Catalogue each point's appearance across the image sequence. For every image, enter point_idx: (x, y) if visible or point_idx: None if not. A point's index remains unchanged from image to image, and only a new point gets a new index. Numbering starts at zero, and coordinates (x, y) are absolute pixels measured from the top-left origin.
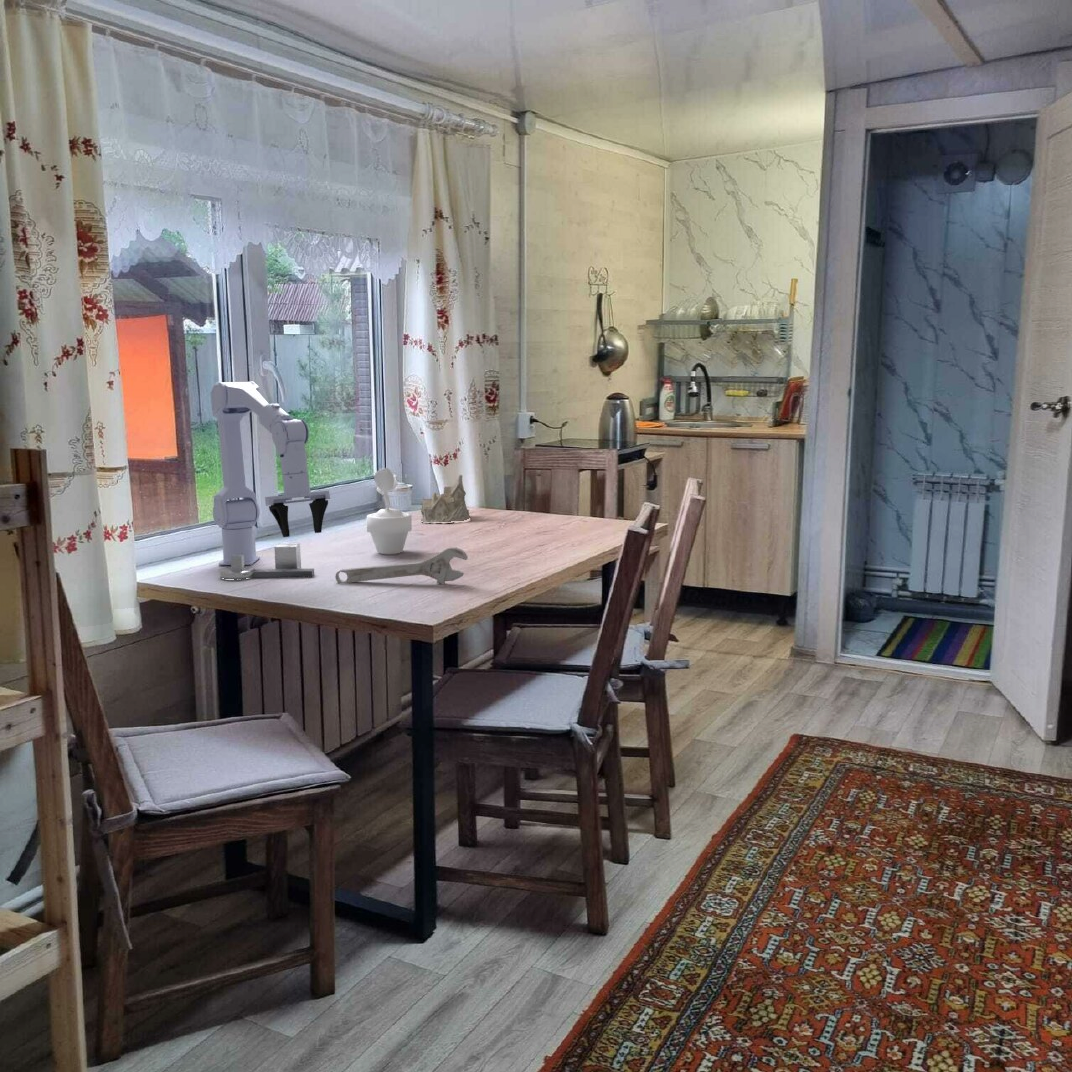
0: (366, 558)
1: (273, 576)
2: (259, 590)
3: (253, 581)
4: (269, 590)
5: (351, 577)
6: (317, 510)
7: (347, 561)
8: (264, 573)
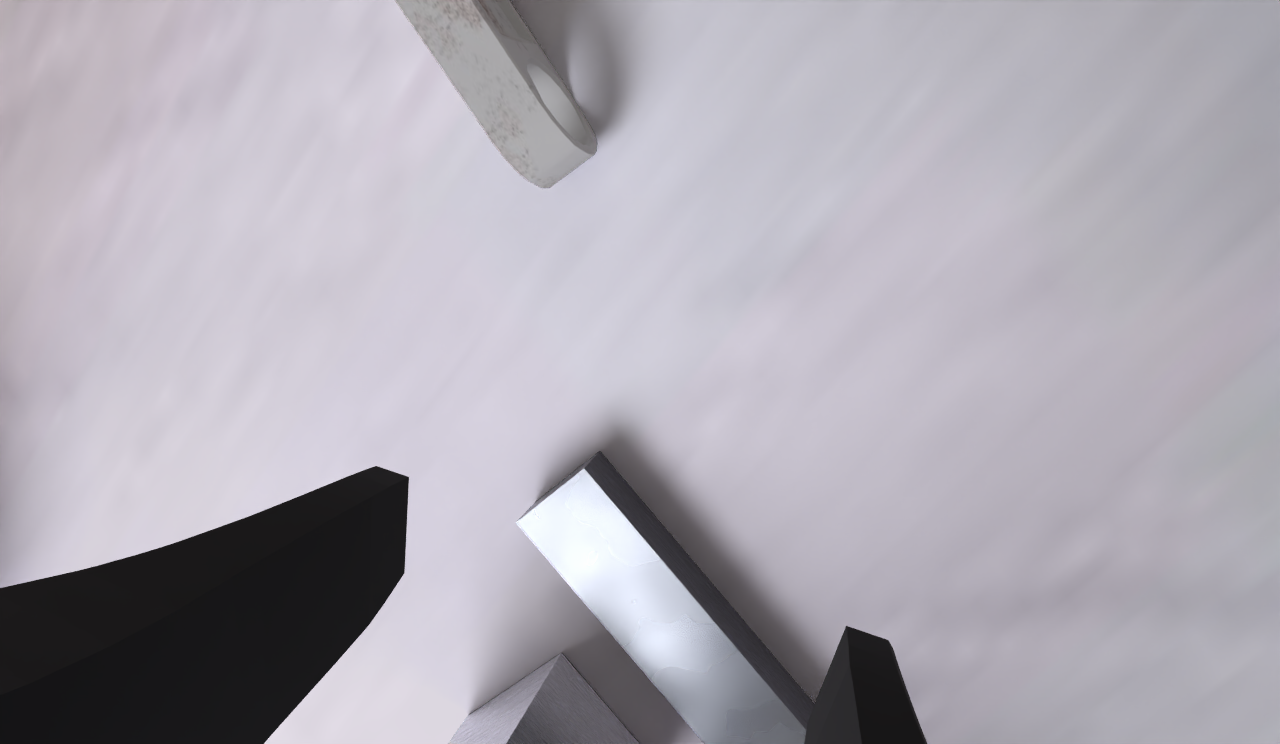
0: None
1: (781, 673)
2: (1212, 431)
3: (964, 704)
4: (1161, 361)
5: (512, 35)
6: (114, 704)
7: None
8: None
